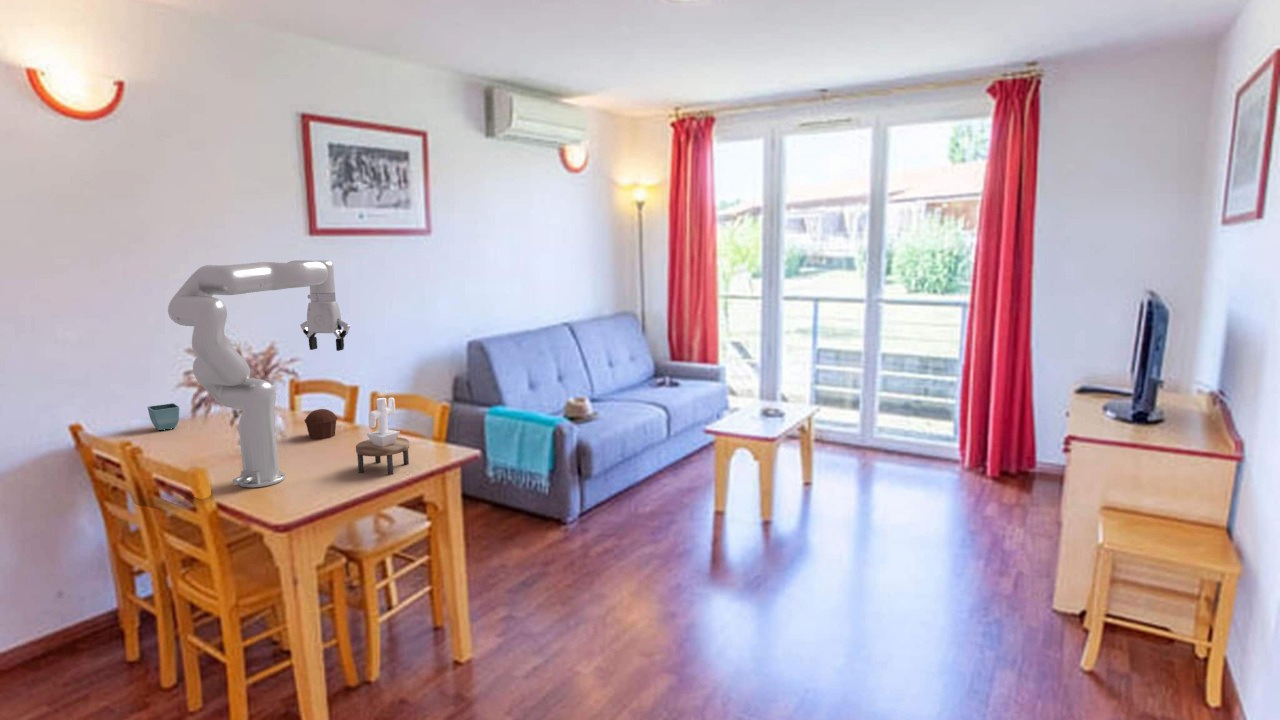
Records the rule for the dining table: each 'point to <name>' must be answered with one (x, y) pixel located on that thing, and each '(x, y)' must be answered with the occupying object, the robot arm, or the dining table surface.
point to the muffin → (321, 424)
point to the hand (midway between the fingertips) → (326, 349)
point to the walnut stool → (382, 452)
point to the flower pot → (164, 416)
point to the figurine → (382, 423)
